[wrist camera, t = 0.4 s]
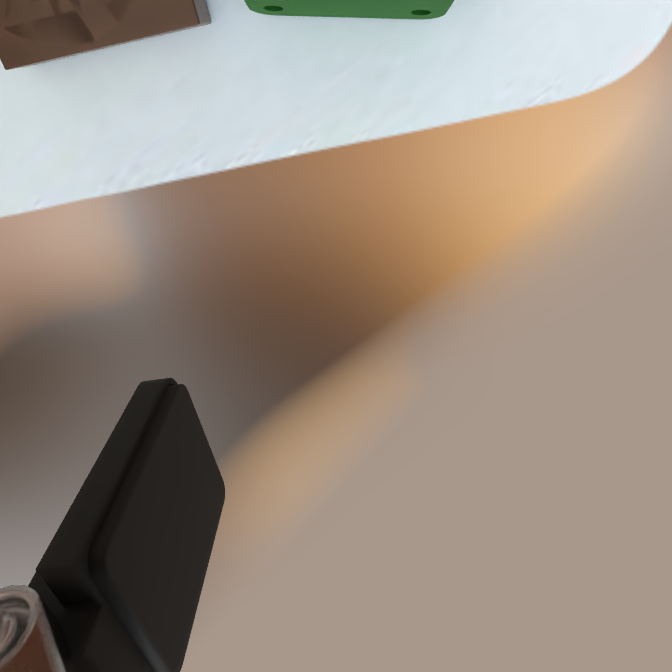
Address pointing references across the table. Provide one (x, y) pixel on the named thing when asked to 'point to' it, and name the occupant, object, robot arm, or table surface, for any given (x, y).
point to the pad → (87, 26)
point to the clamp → (353, 8)
